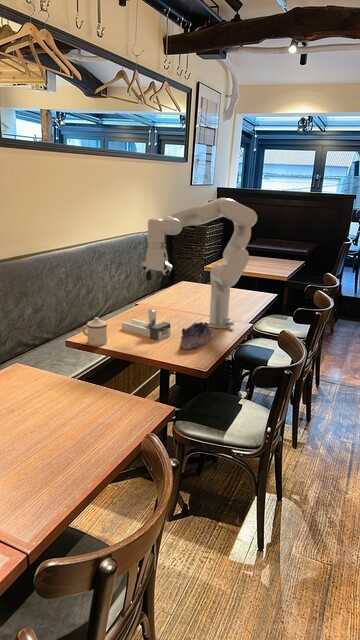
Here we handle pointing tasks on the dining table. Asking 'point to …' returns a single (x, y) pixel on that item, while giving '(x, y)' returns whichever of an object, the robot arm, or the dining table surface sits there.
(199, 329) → the geode
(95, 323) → the teacup with lid
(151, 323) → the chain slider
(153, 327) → the track
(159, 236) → the robot arm
